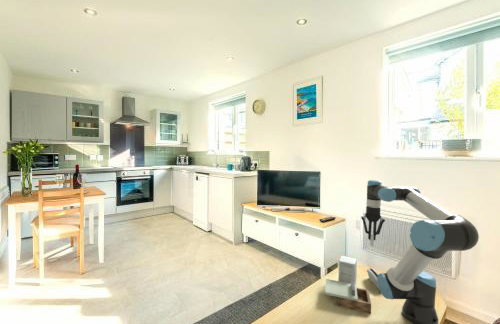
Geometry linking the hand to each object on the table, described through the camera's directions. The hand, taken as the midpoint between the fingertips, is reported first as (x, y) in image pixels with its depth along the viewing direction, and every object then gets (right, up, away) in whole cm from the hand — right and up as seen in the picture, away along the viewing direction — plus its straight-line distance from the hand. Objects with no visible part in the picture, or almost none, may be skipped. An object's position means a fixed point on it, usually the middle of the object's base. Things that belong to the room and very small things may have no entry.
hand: (371, 245), depth 146 cm
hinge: (+7, -28, +7) cm, 30 cm away
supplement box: (-12, -28, +6) cm, 31 cm away
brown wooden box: (-15, -28, -11) cm, 34 cm away
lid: (-22, -23, -9) cm, 32 cm away
